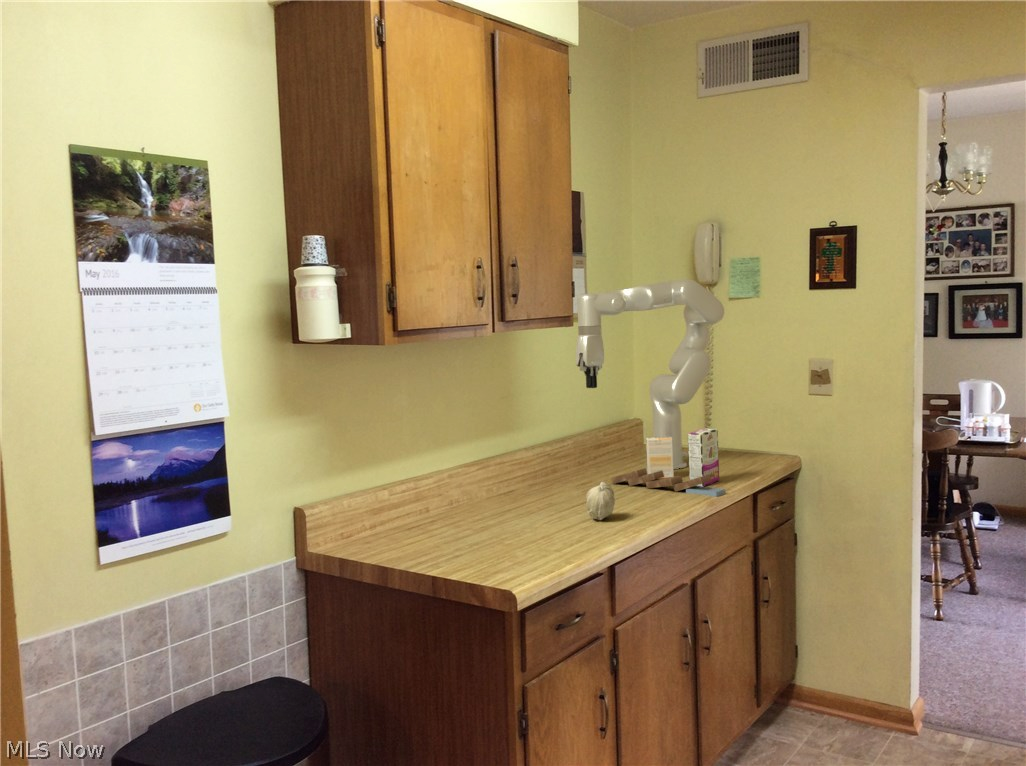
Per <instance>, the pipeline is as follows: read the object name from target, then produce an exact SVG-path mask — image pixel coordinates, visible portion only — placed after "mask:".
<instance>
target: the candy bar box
mask: <svg viewBox="0 0 1026 766" xmlns="http://www.w3.org/2000/svg"><path fill="white" fill-rule="evenodd" d="M718 430H719V429H718V428H708V427H706V428H705V427H704V428H701V429H698V430H695V431H691V432H687V446H688V448H687V449H688V451H687V453H688V473H689V476H688V477H689V480H692V479H695V478H698V477H702V476H705V475H708V474H709V475H710V478H711V480H712V481H709V482H706V483H703V484H700V485H696V486H702V487H704V486H705V487H707V486H709V484H710V485H711V484H714V482H715V483H717V482H719V481H720V462H719V436H718V435H719V434H718V433H719V431H718ZM706 485H707V486H706Z"/></svg>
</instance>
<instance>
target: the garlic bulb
mask: <svg viewBox="0 0 1026 766" xmlns="http://www.w3.org/2000/svg"><path fill="white" fill-rule="evenodd" d="M585 501H586V505H585V506H586V512H587V514H588V515H589V516H590V518H592V519H593V520H595V519H597V520H598V521H602V520H603V519H605V518H608V517H609V516H611V515H613V511H614V510H615V508H614V507H615V503H616V499H615V491H614V489H613V488H612V487H611V485H609V484H608V483H607V482H604V481H601V482H600V484H599V485H597V486H594V487H592V488H589V490H588V491H587V493H586V494H585Z"/></svg>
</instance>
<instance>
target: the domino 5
mask: <svg viewBox="0 0 1026 766" xmlns="http://www.w3.org/2000/svg"><path fill="white" fill-rule="evenodd" d="M685 493H686V494H689V493H694V494H693V495H696V494H703V495H702V496H704V495H709V496H708V497H712V496H714V498H718V497H720V496H724V495H726V489H725V488H718V487H711V486H710V487H708V486H705V487H702V486H693V487H690V488H686V489H685Z"/></svg>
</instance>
